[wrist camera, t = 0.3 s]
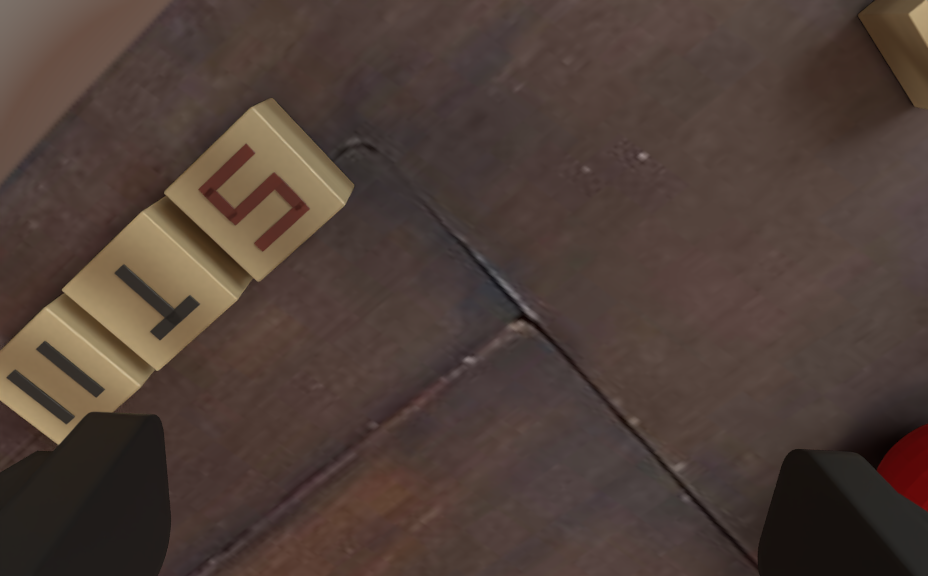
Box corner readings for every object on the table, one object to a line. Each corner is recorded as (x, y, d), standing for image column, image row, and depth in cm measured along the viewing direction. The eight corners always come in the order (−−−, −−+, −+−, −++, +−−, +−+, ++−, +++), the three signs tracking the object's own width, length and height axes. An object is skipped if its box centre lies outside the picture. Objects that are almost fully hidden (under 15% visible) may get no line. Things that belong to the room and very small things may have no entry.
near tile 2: (172, 191, 27) (140, 211, 24) (257, 272, 28) (237, 300, 25) (98, 263, 28) (59, 291, 25) (184, 338, 29) (156, 373, 26)
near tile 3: (83, 278, 28) (43, 307, 25) (169, 352, 30) (140, 388, 27) (15, 344, 29) (-31, 380, 26) (101, 413, 30) (66, 454, 28)
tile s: (271, 96, 26) (251, 105, 23) (355, 185, 27) (346, 205, 24) (190, 175, 27) (161, 193, 24) (275, 257, 28) (257, 284, 25)
